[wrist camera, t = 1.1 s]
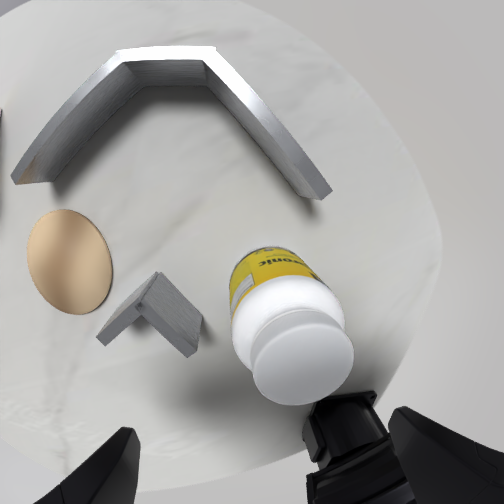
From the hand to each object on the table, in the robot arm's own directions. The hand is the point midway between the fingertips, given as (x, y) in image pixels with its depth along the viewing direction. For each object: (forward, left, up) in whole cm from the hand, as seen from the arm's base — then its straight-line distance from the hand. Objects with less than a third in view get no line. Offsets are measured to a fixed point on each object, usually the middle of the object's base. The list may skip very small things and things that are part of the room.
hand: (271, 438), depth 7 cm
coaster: (+14, -1, -12) cm, 18 cm away
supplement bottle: (-1, -1, -12) cm, 12 cm away
